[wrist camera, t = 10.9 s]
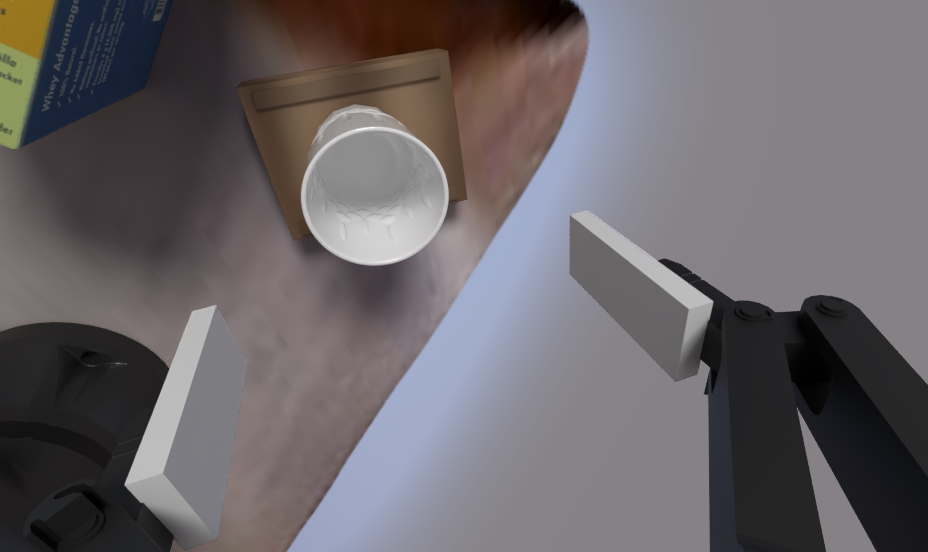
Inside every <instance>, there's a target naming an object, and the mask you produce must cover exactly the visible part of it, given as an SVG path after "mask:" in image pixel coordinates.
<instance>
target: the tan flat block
mask: <svg viewBox="0 0 928 552" xmlns="http://www.w3.org/2000/svg"><path fill="white" fill-rule="evenodd" d="M236 90H237V93H238V96H239V98H240V101H241V103H242V106H243V109H244V111H245V114H246V117H247V119H248V122H249V125H250V127H251V130H252V133H253V135H254V138H255V140H256V143H257V146H258V148H259V151H260V154H261V156H262V159H263V162H264V164H265V167H266V169H267V172H268V175H269V177H270V180H271V183H272V185H273V188H274V191H275V193H276V196H277V199H278V201H279V204H280V206H281V209H282V212H283V214H284V217H285V220H286V222H287V225H288V228H289V230H290V233H291V235H292V238H293V240H298V239H302V238H306V237H310V236H314V235H313V234H312V232H311V231H310V229H309V227H308V225H307V223H306V221H305V218H304V215H303V211H302V205H301V188H302V182H303V178H304V174H305V169H306V164H307V159H308V155H309V151H310V148H311V145H312V142H313V140H314V138H315V136H316V134H317V130H318V127H319V126H320V125H321V124H322V123H323V122H324V121H325V120H326V119H327V118H328V116H329V115H330V114H331V113H332V112H333V111H336V110H339V109H342V108H345V107H348V106H351V105H354V104H357V105H364V106H371V107H377V108H379V109H380V110H382V111H383V112H385V113H386V114H388V115H390V116H392V117H393V118H395V119H396V120H398V121H399V122H400V123H402V124H403V125H404V126H405V127H406V128H408V129H409V130H410V131H411V132H412V133H413V134H414V135H415V136H416V137H417V138H418V139H419V140H420V141H421V142H423V143H424V144H425V145H426V146H427V147H428V148H429V149H430V150H431V151H432V152H433V153H434V155H435V156H436V157H437V159H438V160H439V162H440V164H441V166H442V168H443V170H444V173H445V175H446V179H447V183H448V190H449V201H448V204H451V203H455V202H459V201H463V200H467V193H466V186H465V178H464V171H463V163H462V155H461V148H460V140H459V132H458V125H457V117H456V109H455V102H454V94H453V86H452V79H451V71H450V63H449V56H448V51H445V50H442V49H439V48H435V49H430V50H424V51H418V52H412V53H407V54H401V55H395V56H389V57H383V58H378V59H372V60H366V61H360V62H354V63H349V64H343V65H337V66H331V67H326V68H320V69H314V70H308V71H302V72H297V73H291V74H285V75H279V76H274V77H268V78H262V79H256V80H250V81H245V82H242V83H241V84H240V85H239V86H238V87H237V88H236Z"/></svg>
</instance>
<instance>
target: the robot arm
mask: <svg viewBox="0 0 928 552" xmlns="http://www.w3.org/2000/svg"><path fill="white" fill-rule="evenodd" d="M570 275H571V276H572V277H573V278H574V279H575V280H576V281H577V282H578V283H579V284H580V285H581V286H582V287H583V288H584V289H585V290H586V291H587V292H588V293H589V294H590V295H591V296H592V297H593V298H594V299H595V300H596V301H597V302H598V303H599V304H600V305H601V306H602V307H603V309H605V311H606V312H607V313H608V314H610V316H611V317H612V318H613V319H614V320H615V321H616V322H617V323H618V324H619V325H620V326H621V327H622V328H623V329H624V330H625V331H626V332H627V333H628V334H629V335H630V336H631V337H632V338H633V339H634V340H635V341H636V342H637V343H638V344H639V345H640V346H641V347H642V348H643V349H644V350H645V351H646V352H647V353H648V354H649V355H650V356H651V358H652V359H653V360H655V361H656V363H658V365H659V366H660V367H661V368H662V369H663V370H664V371H665V372H666V373H667V374H668V375H669V376H670V377H671V378H672V379H673V380H674V381H675V382H677V381H680V380H682V379H685V378H688V377H691V376H694V375H697V374H698V369H699V365H700V360H702V361H703V362H704V363H706V364H707V365H708V366H709V367H710V371H709V375H708V379H707V383H706V388H705V392H704V394H706V395H708V400H709V401H708V403H709V497H710V498H709V502H710V552H826V549H825V544H824V539H823V534H822V529H821V525H820V520H819V515H818V510H817V505H816V500H815V495H814V490H813V485H812V480H811V475H810V470H809V466H808V460H807V456H806V451H805V446H804V441H803V436H802V431H801V426H800V421H799V416H798V411H797V408H798V410H799V411H800V413H801V415H802V417H803V418H804V420H805V422H806V424H807V426H808V428H809V430H810V431H811V433H812V435H813V437H814V439H815V441H816V442H817V444H818V446H819V448H820V449H821V451H822V453H823V455H824V457H825V459H826V460H827V462H828V464H829V466H830V468H831V469H832V471H833V473H834V475H835V477H836V479H837V480H838V482H839V484H840V486H841V488H842V490H843V491H844V493H845V495H846V497H847V498H848V500H849V502H850V504H851V506H852V508H853V509H854V511H855V513H856V515H857V517H858V519H859V520H860V522H861V524H862V526H863V528H864V529H865V531H866V533H867V535H868V537H869V538H870V540H871V542H872V544H873V546H874V548H875V550H876V551H877V552H928V385H927V384H926V383H925V382H924V380H923V379H922V378H921V377H920V376H919V375H918V374H917V373H916V371H915V370H914V369H913V368H912V367H911V366H910V365H909V364H908V363H907V361H906V360H905V359H904V358H903V357H902V356H901V355H900V354H899V353H898V351H897V350H896V349H895V348H894V347H893V346H892V345H891V344H890V342H889V341H888V340H887V339H886V338H885V337H884V336H883V335H882V334H881V332H880V331H879V330H878V329H877V328H876V327H875V326H874V325H873V323H872V322H871V321H870V320H869V319H868V318H867V317H866V316H865V315H864V314H863V312H862V311H861V310H860V309H859V308H857V307H856V306H855V305H854V304H852V303H850V302H848V301H846V300H844V299H841V298H838V297H833V296H825V295H817V296H811V297H809V298H806V299H805V300H804V302H803V304H802V307H801V310H800V311H793V312H774V311H773V310H772V309H770V308H769V307H767V306H765V305H762V304H760V303H756V302H752V301H733V300H732V299H730V298H729V297H728V296H726V295H725V294H723V293H722V292H720V291H719V290H717V289H716V288H714V287H713V286H711V285H710V284H708V283H707V282H706V281H704V280H701V278H700V277H699V276H697V275H696V274H692V272H691V271H690V270H688V269H687V268H685V267H684V266H682V265H681V264H679V263H676V262H673V261H670V260H668V259H662V260H658V261H657V260H655V259H654V258H653V257H651V256H650V255H649V254H647V253H646V252H645V251H643V250H642V249H640V248H639V247H638V246H636V245H635V244H633V243H632V242H631V241H629V240H628V239H627V238H625V237H624V236H622V235H621V234H620V233H618V232H617V231H615V230H614V229H613V228H611V227H610V226H609V225H607V224H606V223H604V222H603V221H602V220H600V219H599V218H598V217H596V216H595V215H593V214H592V213H591V212H589V211H588V210H587V211H583V212H579V213H575V214H571V215H570ZM247 366H248V364H247V362H246V360H245V358H244V356H243V354H242V352H241V350H240V349H239V347H238V345H237V343H236V341H235V339H234V337H233V335H232V334H231V332H230V330H229V328H228V326H227V324H226V322H225V320H224V319H223V317H222V315H221V313H220V311H219V309H218V307H217V305H214V306H210V307H207V308H203V309H199V310H195V311H192V313H191V316H190V318H189V321H188V323H187V326H186V329H185V331H184V334H183V336H182V339H181V341H180V344H179V346H178V349H177V352H176V354H175V357H174V359H173V362H172V364H171V367H170V370H169V369H168V368H167V366H166V365H165V364H164V363H163V362H162V360H161V359H160V358H158V357H157V356H156V355H155V354H154V353H153V352H152V351H150V350H149V349H147V348H146V347H145V346H143V345H141V344H140V343H138V342H136V341H134V340H132V339H130V338H128V337H126V336H123V335H121V334H119V333H116V332H113V331H110V330H106V329H103V328H99V327H94V326H89V325H83V324H76V323H61V322H51V323H37V324H29V325H23V326H19V327H15V328H11V329H8V330H5V331H2V332H0V552H170V549H171V545H172V541H173V538H174V539H175V540H176V542H177V543H178V544H179V545H180V546H181V547H182V548H183V549H184V550H186V549H189V548H192V547H195V546H198V545H201V544H204V543H207V542H210V541H213V540H216V539H217V537H218V531H219V526H220V520H221V514H222V508H223V503H224V497H225V491H226V486H227V480H228V474H229V469H230V463H231V457H232V452H233V446H234V440H235V434H236V429H237V423H238V417H239V412H240V406H241V400H242V395H243V389H244V383H245V378H246V372H247Z"/></svg>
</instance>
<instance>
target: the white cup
mask: <svg viewBox="0 0 928 552" xmlns="http://www.w3.org/2000/svg"><path fill="white" fill-rule="evenodd" d="M448 201H449V190H448V183H447V179H446V175H445V173H444V170H443V168H442V166H441V164H440V162H439V160H438V159H437V157H436V156H435V155H434V153H433V152H432V151H431V150H430V149H429V148H428V147H427V146H426V145H425V144H424V143H423V142H421V141H420V140H419V139H418V138H417V137H416V136H415V135H414V134H413V133H412V132H411V131H410V130H409V129H408V128H406V127H405V126H404V125H403V124H402V123H400V122H399V121H398V120H396V119H395V118H393V117H392V116H390V115H388V114H386V113H385V112H383V111H382V110H380V109H379V108H377V107H371V106H364V105H357V104H354V105H351V106H348V107H345V108H342V109H339V110H336V111H333V112H332V113H331V114H330V115H329V116H328V118H327V119H326V120H325V121H324V122H323V123H322V124H321V125H320V126H319V127H318V130H317V134H316V136H315V138H314V140H313V142H312V145H311V148H310V151H309V155H308V159H307V164H306V169H305V174H304V178H303V182H302V188H301V205H302V211H303V215H304V218H305V221H306V223H307V225H308V227H309V229H310V231H311V232H312V234H313V235H314V237H315V238H316V239H317V240H318V242H319V243H320V244H321V245H322V246H323V247H325V248H326V249H327V250H328V251H330V252H331V253H333V254H334V255H336V256H338V257H340V258H342V259H344V260H346V261H349V262H352V263H356V264H360V265H368V266H380V265H388V264H393V263H397V262H400V261H402V260H405V259H407V258H409V257H411V256H413V255H415V254H416V253H418V252H419V251H421V250H422V249H423V248H424V247H425V246H427V245H428V244H429V243H430V242H431V240H432V239H433V238H434V237H435V235H436V234H437V233H438V231H439V229H440V228H441V226H442V224H443V221H444V219H445V216H446V213H447V208H448Z"/></svg>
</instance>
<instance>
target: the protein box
mask: <svg viewBox="0 0 928 552" xmlns="http://www.w3.org/2000/svg"><path fill="white" fill-rule="evenodd" d="M172 2H173V0H0V145H2V146H4V147H7V148H10V149H13V150H18V149H20V148H21V147H23V146H25V145H27V144H29V143H31V142H33V141H36V140H38V139H40V138H42V137H44V136H46V135H48V134H50V133H53V132H55V131H57V130H58V129H60V128H62V127H64V126H66V125H69V124H71V123H73V122H75V121H77V120H79V119H81V118H84V117H85V116H87V115H90V114H92V113H94V112H96V111H98V110H100V109H102V108H104V107H107V106H109V105H111V104H113V103H115V102H117V101H119V100H121V99H123V98H126V97H128V96H130V95H132V94H134V93H136V92H138V91H140V90H142V89H144V87H145V84H146V81H147V78H148V75H149V72H150V69H151V66H152V63H153V59H154V56H155V53H156V50H157V47H158V44H159V41H160V38H161V35H162V32H163V29H164V26H165V23H166V20H167V17H168V14H169V11H170V8H171V5H172Z"/></svg>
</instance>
